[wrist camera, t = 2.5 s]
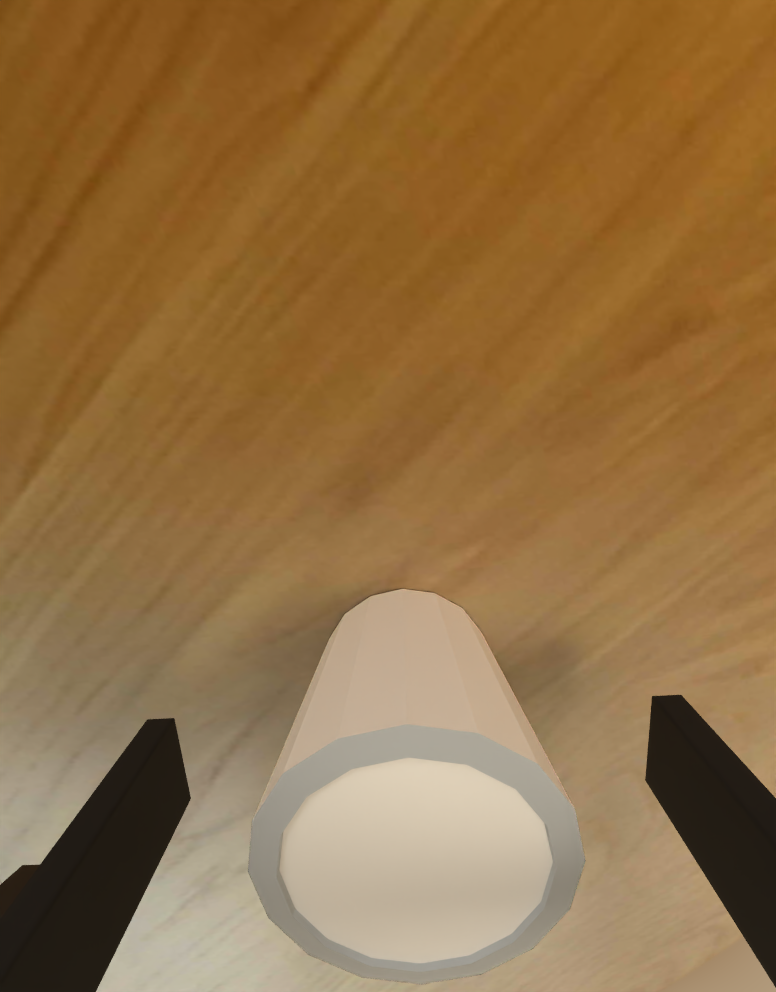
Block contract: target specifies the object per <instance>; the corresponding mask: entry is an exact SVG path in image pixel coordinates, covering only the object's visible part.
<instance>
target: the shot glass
mask: <svg viewBox="0 0 776 992" xmlns="http://www.w3.org/2000/svg"><path fill="white" fill-rule="evenodd" d="M584 864H585V856H584V851H583V846H582V841H581V836H580V831H579V826H578V821H577V816H576V811H575V808H574V806H573V804H572V803H571V801H570V799H569V797H568V795H567V793H566V791H565V789H564V787H563V786H562V784H561V782H560V780H559V778H558V776H557V774H556V772H555V770H554V769H553V767H552V765H551V763H550V761H549V759H548V757H547V755H546V753H545V752H544V750H543V748H542V746H541V744H540V742H539V740H538V738H537V736H536V735H535V733H534V731H533V729H532V727H531V725H530V723H529V721H528V719H527V718H526V716H525V714H524V712H523V710H522V708H521V706H520V704H519V702H518V701H517V699H516V697H515V695H514V693H513V691H512V689H511V687H510V685H509V684H508V682H507V680H506V678H505V676H504V674H503V672H502V670H501V668H500V667H499V665H498V663H497V661H496V659H495V657H494V655H493V653H492V651H491V650H490V648H489V646H488V644H487V642H486V640H485V638H484V636H483V634H482V633H481V631H480V630H479V628H478V627H477V626H476V625H475V623H474V622H473V621H472V620H471V618H470V617H469V616H468V615H467V613H466V612H465V611H464V609H463V608H461V607H459V606H457V605H456V604H454V603H452V602H450V601H448V600H446V599H445V598H443V597H441V596H439V595H437V594H436V593H430V592H423V591H415V590H408V589H399V590H395V591H391V592H386V593H382V594H378V595H373V596H370V597H369V598H367V599H366V600H364V601H363V602H361V603H360V604H358V605H357V606H355V607H354V608H353V609H351V610H350V611H348V612H347V613H345V614H344V616H343V617H342V619H341V621H340V622H339V624H338V625H337V627H336V629H335V630H334V632H333V633H332V635H331V637H330V638H329V640H328V643H327V645H326V648H325V650H324V652H323V655H322V657H321V659H320V662H319V664H318V666H317V669H316V671H315V673H314V676H313V678H312V681H311V683H310V685H309V688H308V690H307V692H306V695H305V697H304V699H303V702H302V704H301V706H300V709H299V711H298V714H297V716H296V718H295V721H294V723H293V725H292V728H291V730H290V732H289V735H288V737H287V739H286V742H285V744H284V747H283V749H282V751H281V754H280V756H279V758H278V761H277V763H276V765H275V768H274V770H273V772H272V775H271V777H270V780H269V782H268V784H267V787H266V789H265V791H264V794H263V796H262V798H261V801H260V803H259V806H258V808H257V810H256V813H255V815H254V817H253V820H252V828H251V841H250V853H249V865H248V873H249V875H250V877H251V879H252V882H253V884H254V886H255V888H256V891H257V893H258V895H259V898H260V900H261V902H262V904H263V907H264V909H265V911H266V914H267V916H268V918H269V919H270V920H271V921H272V922H273V923H274V924H275V925H277V926H278V927H279V928H280V929H281V930H282V931H283V932H284V933H285V934H286V935H288V936H289V937H290V938H291V939H292V940H293V941H294V942H295V943H296V944H297V945H298V946H300V947H301V948H302V949H303V950H304V951H305V952H306V953H307V954H308V955H310V956H313V957H315V958H317V959H320V960H322V961H324V962H327V963H329V964H331V965H334V966H336V967H338V968H341V969H343V970H345V971H348V972H350V973H353V974H355V975H357V976H360V977H362V978H370V979H379V980H388V981H397V982H405V983H414V984H427V983H433V982H439V981H445V980H451V979H457V978H463V977H469V976H476V975H481V974H483V973H485V972H487V971H489V970H491V969H493V968H495V967H497V966H499V965H501V964H503V963H505V962H507V961H509V960H511V959H513V958H515V957H517V956H519V955H521V954H523V953H525V952H527V951H529V950H531V949H533V948H534V947H535V946H536V945H537V944H538V943H539V942H540V941H541V940H542V938H543V937H544V936H545V935H546V934H547V933H548V932H549V931H550V930H551V929H552V928H553V927H554V926H555V925H556V924H557V922H558V921H559V920H560V919H561V918H562V917H563V916H564V915H565V914H566V913H567V912H568V911H569V910H570V907H571V904H572V901H573V898H574V895H575V891H576V888H577V885H578V882H579V879H580V876H581V873H582V870H583V867H584Z"/></svg>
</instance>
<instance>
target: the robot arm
mask: <svg viewBox="0 0 776 992" xmlns="http://www.w3.org/2000/svg"><path fill="white" fill-rule="evenodd" d="M645 780H646V782H647V784H648V785H649V787H650V788H651V790H652V792H653V793H654V795H655V796H656V798H657V799H658V801H659V803H660V804H661V806H662V807H663V809H664V811H665V812H666V814H667V815H668V817H669V819H670V820H671V822H672V823H673V825H674V827H675V828H676V830H677V831H678V833H679V834H680V836H681V838H682V839H683V841H684V842H685V844H686V846H687V847H688V849H689V850H690V852H691V854H692V855H693V857H694V858H695V860H696V862H697V863H698V865H699V866H700V868H701V869H702V871H703V873H704V874H705V876H706V877H707V879H708V881H709V882H710V884H711V885H712V887H713V889H714V890H715V892H716V893H717V895H718V897H719V898H720V900H721V901H722V903H723V904H724V906H725V908H726V909H727V911H728V912H729V914H730V916H731V917H732V919H733V920H734V922H735V924H736V925H737V927H738V928H739V930H740V932H741V933H742V935H743V936H744V938H745V939H746V941H747V942H748V944H749V946H750V947H751V949H752V950H753V952H754V954H755V955H756V957H757V959H758V960H759V962H760V963H761V965H762V966H763V968H764V969H765V971H766V973H767V974H768V976H769V978H770V979H771V981H772V982H773V984H774V986H775V987H776V798H775V797H774V796H773V795H772V794H771V793H770V792H769V790H768V789H767V788H766V787H765V786H764V785H763V784H762V783H761V782H760V781H759V780H758V778H757V777H756V776H755V775H754V774H753V773H752V772H751V771H750V770H749V769H748V768H747V766H746V765H745V764H744V763H743V762H742V761H741V760H740V759H739V758H738V757H737V755H736V754H735V753H734V752H733V751H732V750H731V749H730V748H729V747H728V746H727V745H726V743H725V742H724V741H723V740H722V739H721V738H720V737H719V736H718V735H717V734H716V733H715V731H714V730H713V729H712V728H711V727H710V726H709V725H708V724H707V723H706V722H705V721H704V719H703V718H702V717H701V716H700V715H699V714H698V713H697V712H696V711H695V710H694V708H693V707H692V706H691V705H690V704H689V703H688V702H687V701H686V700H685V699H684V698H683V696H682V695H668V696H652V705H651V717H650V730H649V742H648V754H647V767H646V779H645ZM190 799H191V797H190V792H189V787H188V782H187V778H186V773H185V768H184V763H183V758H182V753H181V749H180V744H179V739H178V734H177V729H176V724H175V719H174V718H169V719H148V720H147V721H146V722H145V723H144V725H143V726H142V727H141V729H140V730H139V731H138V733H137V734H136V736H135V737H134V738H133V740H132V741H131V742H130V744H129V745H128V746H127V748H126V749H125V750H124V752H123V753H122V755H121V756H120V757H119V759H118V760H117V761H116V763H115V764H114V765H113V767H112V768H111V769H110V771H109V772H108V773H107V775H106V776H105V778H104V779H103V780H102V782H101V783H100V784H99V786H98V787H97V788H96V790H95V791H94V792H93V794H92V795H91V797H90V798H89V799H88V801H87V802H86V803H85V805H84V806H83V807H82V809H81V810H80V811H79V813H78V814H77V816H76V817H75V818H74V820H73V821H72V822H71V824H70V825H69V826H68V828H67V829H66V830H65V832H64V833H63V835H62V836H61V837H60V839H59V840H58V841H57V843H56V844H55V845H54V847H53V848H52V849H51V851H50V852H49V854H48V855H47V856H46V858H45V859H44V860H43V862H42V863H41V864H40V865H22V866H21V867H20V868H19V869H18V870H17V871H15V872H14V873H13V874H12V875H11V876H10V877H9V878H7V879H6V880H5V881H4V882H3V883H2V884H1V885H0V992H96V990H97V988H98V986H99V984H100V982H101V980H102V978H103V976H104V974H105V972H106V970H107V968H108V966H109V964H110V962H111V960H112V958H113V956H114V954H115V952H116V950H117V948H118V946H119V944H120V942H121V939H122V937H123V935H124V933H125V931H126V929H127V927H128V925H129V923H130V921H131V919H132V917H133V915H134V913H135V911H136V909H137V907H138V905H139V903H140V901H141V899H142V897H143V895H144V893H145V891H146V889H147V887H148V885H149V883H150V881H151V879H152V877H153V874H154V872H155V870H156V868H157V866H158V864H159V862H160V860H161V858H162V856H163V854H164V852H165V850H166V848H167V846H168V844H169V842H170V840H171V838H172V836H173V834H174V832H175V830H176V828H177V826H178V824H179V822H180V820H181V818H182V816H183V814H184V812H185V810H186V807H187V805H188V803H189V801H190Z"/></svg>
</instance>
